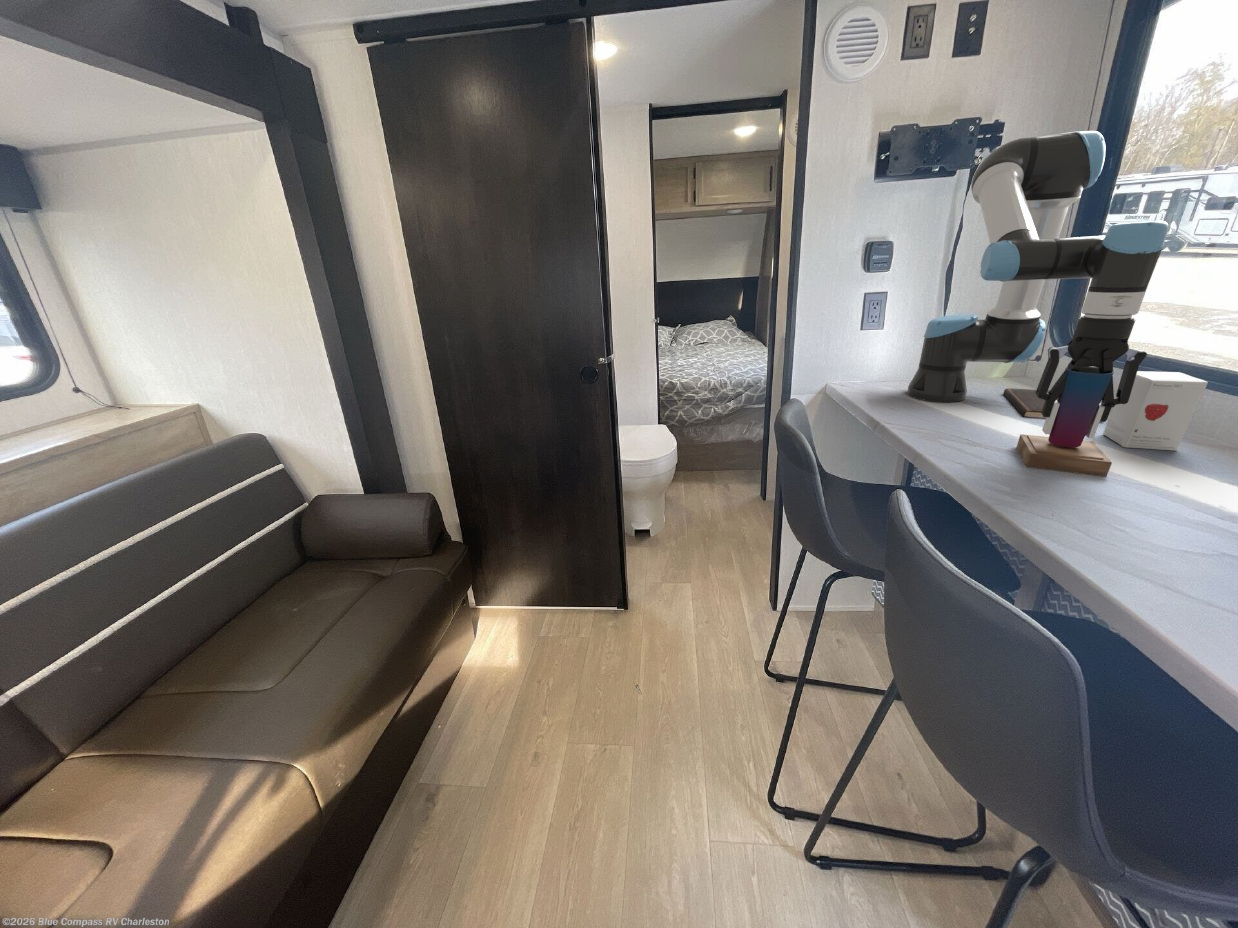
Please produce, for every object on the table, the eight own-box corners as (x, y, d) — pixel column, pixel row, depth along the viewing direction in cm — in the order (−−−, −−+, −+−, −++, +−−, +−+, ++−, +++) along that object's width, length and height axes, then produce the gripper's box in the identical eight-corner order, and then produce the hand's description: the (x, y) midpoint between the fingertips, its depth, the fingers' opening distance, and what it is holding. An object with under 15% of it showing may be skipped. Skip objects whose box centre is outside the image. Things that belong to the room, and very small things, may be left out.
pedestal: (1016, 446, 106) (1020, 433, 105) (1087, 454, 101) (1093, 439, 99) (1026, 466, 97) (1031, 452, 95) (1106, 476, 91) (1112, 460, 90)
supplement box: (1123, 448, 103) (1150, 380, 97) (1101, 434, 110) (1125, 370, 104) (1179, 451, 100) (1210, 381, 94) (1152, 437, 107) (1180, 371, 101)
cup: (1095, 449, 93) (1123, 373, 87) (1055, 448, 95) (1080, 374, 89) (1072, 437, 99) (1097, 366, 93) (1035, 436, 101) (1057, 366, 95)
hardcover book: (1071, 399, 136) (1074, 391, 135) (1103, 424, 117) (1107, 415, 116) (1002, 395, 143) (1004, 388, 142) (1022, 418, 124) (1025, 410, 123)
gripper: (1045, 318, 89) (1011, 434, 98) (1191, 318, 80) (1138, 446, 89) (1037, 313, 94) (1005, 423, 104) (1171, 313, 86) (1124, 433, 95)
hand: (1067, 434), depth 96 cm, fingers closed on cup, 6 cm apart
